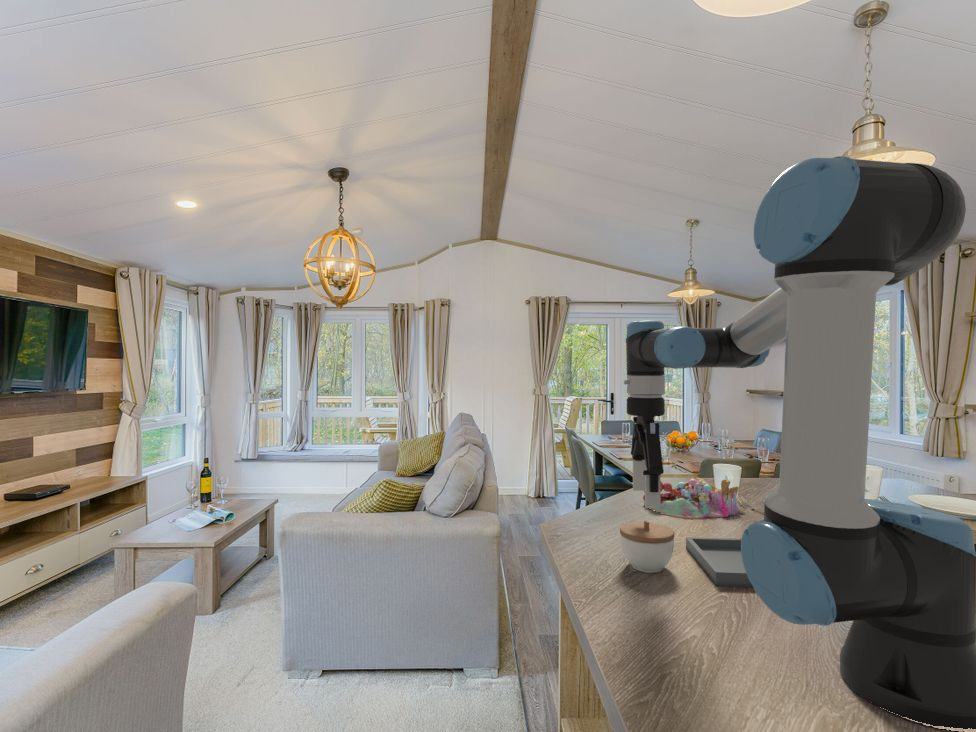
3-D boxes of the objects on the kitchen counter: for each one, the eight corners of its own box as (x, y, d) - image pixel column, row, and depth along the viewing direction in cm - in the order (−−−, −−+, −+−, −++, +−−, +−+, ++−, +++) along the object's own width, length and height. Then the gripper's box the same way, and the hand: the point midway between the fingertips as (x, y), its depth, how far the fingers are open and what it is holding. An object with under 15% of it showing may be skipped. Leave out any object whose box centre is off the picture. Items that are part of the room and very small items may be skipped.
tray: (829, 589, 93) (829, 576, 93) (715, 585, 95) (715, 572, 95) (778, 550, 113) (778, 539, 113) (685, 548, 115) (685, 537, 115)
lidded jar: (678, 579, 98) (678, 531, 98) (621, 575, 100) (621, 528, 100) (670, 559, 108) (669, 515, 108) (618, 555, 110) (618, 513, 110)
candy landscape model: (678, 494, 165) (678, 466, 165) (752, 510, 147) (752, 478, 147) (632, 508, 149) (632, 476, 150) (709, 527, 131) (708, 491, 131)
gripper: (617, 392, 117) (618, 483, 117) (638, 400, 92) (638, 516, 92) (651, 392, 116) (651, 484, 116) (680, 400, 92) (680, 517, 92)
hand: (645, 498), depth 104 cm, fingers open, 13 cm apart
